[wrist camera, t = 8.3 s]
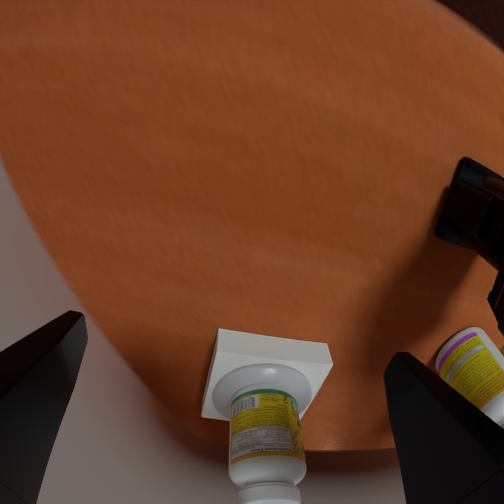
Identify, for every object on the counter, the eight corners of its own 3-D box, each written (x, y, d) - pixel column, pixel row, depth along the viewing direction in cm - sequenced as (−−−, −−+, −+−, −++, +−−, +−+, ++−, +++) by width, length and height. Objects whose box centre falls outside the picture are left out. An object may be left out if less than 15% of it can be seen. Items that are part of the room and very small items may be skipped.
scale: (325, 339, 26) (335, 370, 23) (290, 406, 30) (294, 434, 27) (219, 323, 25) (216, 356, 21) (202, 396, 29) (200, 425, 26)
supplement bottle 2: (422, 369, 28) (469, 468, 17) (457, 320, 25) (524, 419, 14) (459, 371, 29) (506, 455, 18) (492, 327, 27) (552, 410, 15)
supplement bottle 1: (235, 377, 22) (234, 495, 14) (304, 383, 23) (323, 494, 14) (226, 415, 25) (223, 516, 16) (286, 419, 25) (297, 516, 17)
